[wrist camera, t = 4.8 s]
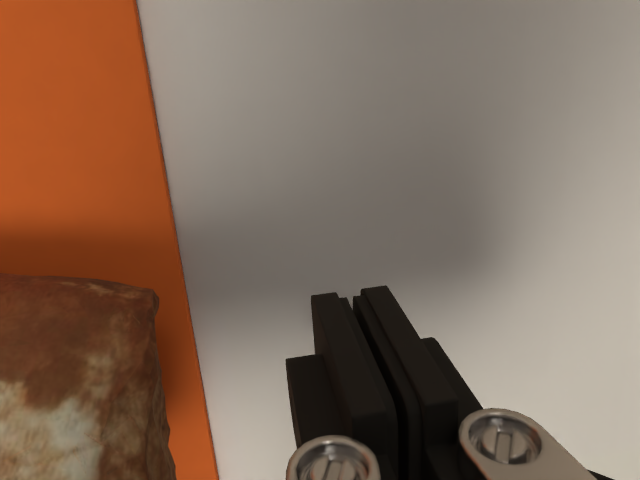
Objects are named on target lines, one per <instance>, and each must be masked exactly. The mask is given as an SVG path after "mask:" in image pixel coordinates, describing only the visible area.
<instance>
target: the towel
mask: <svg viewBox="0 0 640 480" xmlns="http://www.w3.org/2000/svg"><path fill="white" fill-rule="evenodd" d="M0 273H6V274H18V275H29V276H64V277H79V278H92V279H101V280H107V281H114V282H119V283H123V284H127V285H132V286H137V287H142V288H149V289H153V290H154V292H155V293H156V295H157V296H158V297H159V309H158V311H157V314H156V316H155V319H154V320H155V331H156V343H157V351H158V357H159V363H160V367H161V369H162V386H163V390H164V394H165V404H166V415H167V421H168V424H169V427H170V435H169V442H168V447H169V449H170V452H171V454H172V457H173V460H174V463H175V465H176V470H175V473H176V479H177V480H219V477H218V472H217V466H216V460H215V454H214V448H213V443H212V437H211V431H210V425H209V420H208V414H207V408H206V402H205V397H204V391H203V385H202V379H201V374H200V368H199V362H198V356H197V350H196V345H195V339H194V333H193V327H192V322H191V316H190V310H189V304H188V299H187V293H186V287H185V281H184V275H183V270H182V264H181V258H180V252H179V247H178V241H177V235H176V229H175V224H174V218H173V212H172V206H171V201H170V195H169V189H168V183H167V177H166V172H165V166H164V160H163V154H162V149H161V143H160V137H159V131H158V126H157V120H156V114H155V108H154V102H153V97H152V91H151V85H150V79H149V74H148V68H147V62H146V56H145V51H144V45H143V39H142V33H141V27H140V22H139V16H138V10H137V4H136V0H0Z"/></svg>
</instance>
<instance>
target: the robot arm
mask: <svg viewBox="0 0 640 480" xmlns="http://www.w3.org/2000/svg"><path fill="white" fill-rule="evenodd" d="M311 306H312V319H313V332H314V344H315V355H308V356H302V357H295V358H288V359H286V371H287V380H288V390H289V399H290V407H291V414H292V421H293V428H294V434H295V440H296V446H297V450H296V451H295V452H294V454H293V455H292V457H291V458H290V459H289V462H288V466H287V470H286V480H614V479H611V478H608V477H606V476H603V475H600V474H598V473H595V472H593V471H590V470H587V469H586V468H585V467H583V466H582V465H581V464H580V463H579V462H578V461H577V460H576V459H575V458H574V457H573V456H572V455H571V454H570V453H569V452H568V451H567V450H566V449H565V448H564V447H563V446H562V445H561V444H560V443H558V442H557V441H556V440H555V439H554V438H553V437H552V436H551V435H550V434H549V433H548V432H547V431H546V430H545V429H544V428H543V427H542V426H541V425H539V424H538V423H537V422H535V421H534V420H533V419H531V418H529V417H527V416H525V415H523V414H521V413H519V412H515V411H511V410H507V409H499V408H488V409H483V408H482V406H481V405H480V403H479V402H478V400H477V399H476V397H475V396H474V394H473V393H472V392H471V390H470V389H469V387H468V386H467V384H466V383H465V381H464V380H463V378H462V377H461V375H460V374H459V372H458V371H457V370H456V368H455V367H454V365H453V364H452V362H451V361H450V359H449V358H448V356H447V355H446V353H445V352H444V350H443V349H442V348H441V346H440V345H439V343H438V342H437V341H436V340H435V338H432V337H430V338H423V339H420V337H419V336H418V334H417V332H416V331H415V329H414V328H413V326H412V324H411V323H410V321H409V320H408V318H407V317H406V315H405V313H404V312H403V310H402V309H401V307H400V306H399V304H398V302H397V301H396V299H395V298H394V296H393V294H392V293H391V291H390V290H389V288H388V287H387V286H379V287H371V288H364V289H361V294H360V296H353V310H352V308H351V306H350V303H349V301H348V299H347V297H345V298H339V297H338V295H337V293H336V292H334V293H326V294H319V295H312V296H311Z"/></svg>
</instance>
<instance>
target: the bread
mask: <svg viewBox="0 0 640 480" xmlns="http://www.w3.org/2000/svg"><path fill="white" fill-rule="evenodd" d="M158 309H159V297H158V296H157V295H156V293H155V292H154V290H153V289H149V288H142V287H137V286H132V285H127V284H123V283H119V282H114V281H107V280H101V279H92V278H79V277H64V276H29V275H18V274H6V273H0V480H177V479H176V473H175V470H176V465H175V463H174V460H173V457H172V454H171V452H170V449H169V447H168V442H169V435H170V427H169V424H168V421H167V415H166V404H165V394H164V390H163V386H162V369H161V367H160V363H159V357H158V351H157V343H156V331H155V320H154V319H155V316H156V314H157V311H158Z"/></svg>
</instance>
